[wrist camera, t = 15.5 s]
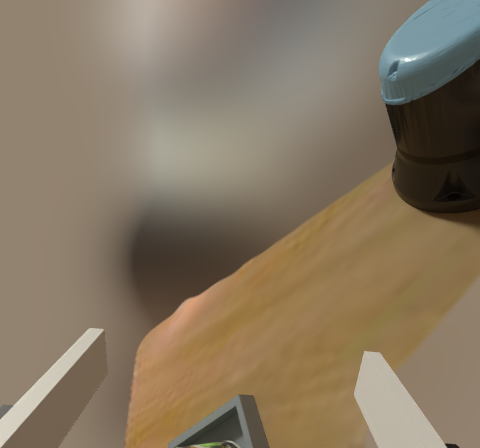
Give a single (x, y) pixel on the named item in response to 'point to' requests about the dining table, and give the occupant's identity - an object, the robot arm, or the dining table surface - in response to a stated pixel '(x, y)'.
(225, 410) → the tray
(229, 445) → the coffee can
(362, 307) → the dining table surface
